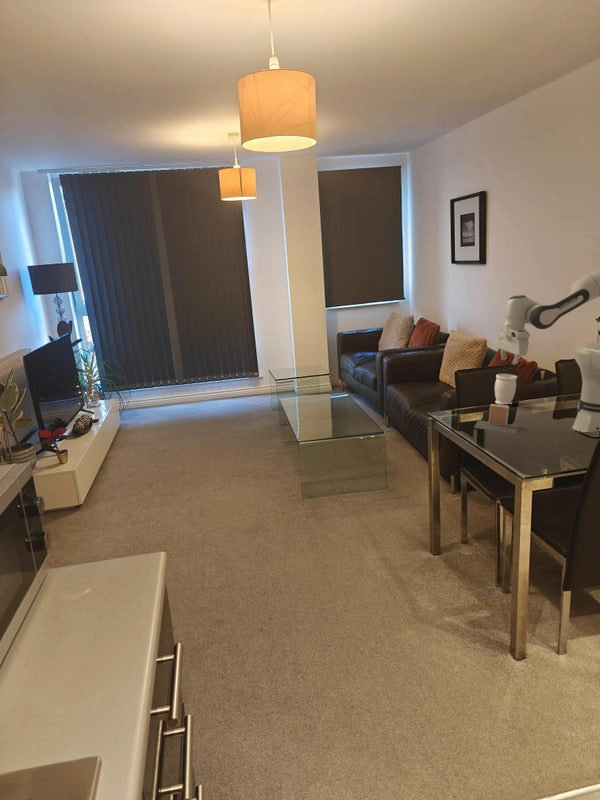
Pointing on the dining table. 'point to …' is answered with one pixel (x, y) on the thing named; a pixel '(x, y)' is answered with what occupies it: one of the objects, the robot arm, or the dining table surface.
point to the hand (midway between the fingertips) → (509, 361)
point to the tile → (498, 414)
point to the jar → (505, 388)
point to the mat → (496, 427)
